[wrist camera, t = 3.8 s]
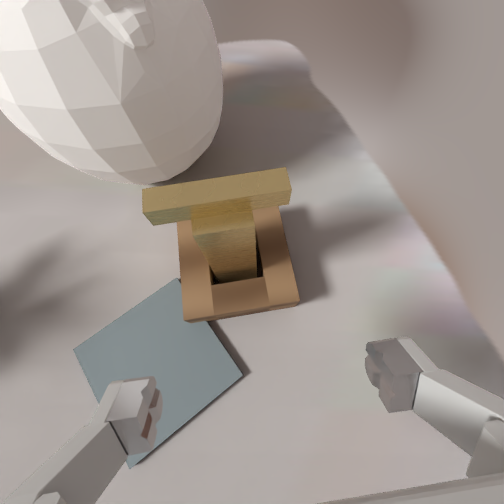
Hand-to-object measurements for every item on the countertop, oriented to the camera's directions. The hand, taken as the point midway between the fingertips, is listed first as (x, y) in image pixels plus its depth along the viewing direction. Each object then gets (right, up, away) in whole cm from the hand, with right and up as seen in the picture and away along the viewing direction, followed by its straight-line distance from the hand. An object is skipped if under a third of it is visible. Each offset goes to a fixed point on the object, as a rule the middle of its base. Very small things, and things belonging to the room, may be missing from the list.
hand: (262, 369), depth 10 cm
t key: (-2, +3, +17) cm, 17 cm away
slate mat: (-9, -5, +14) cm, 17 cm away
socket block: (-2, +3, +17) cm, 17 cm away
